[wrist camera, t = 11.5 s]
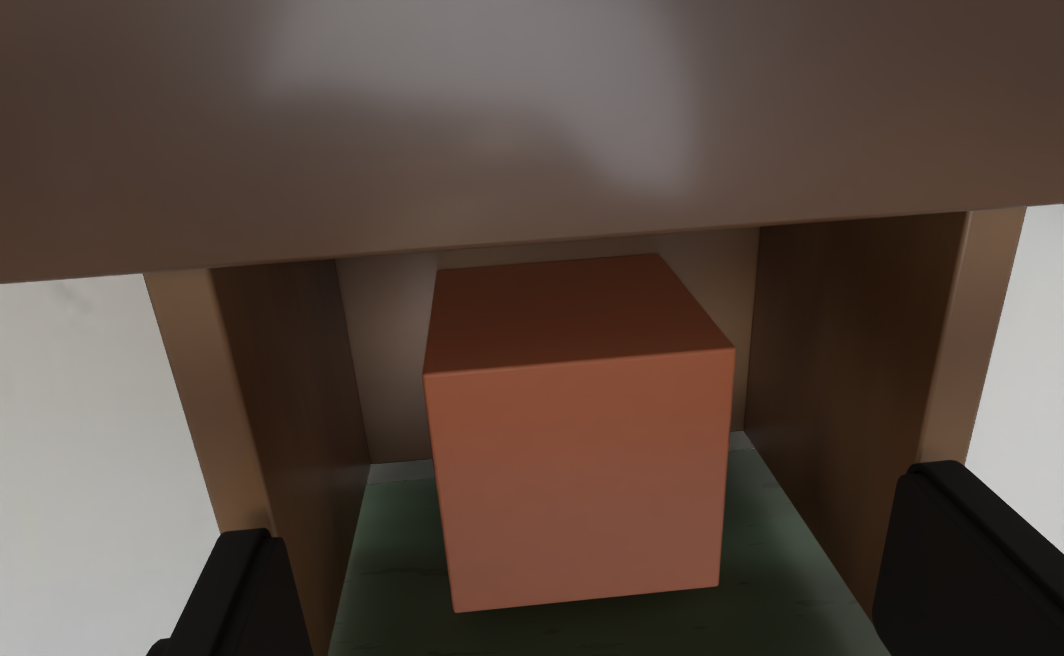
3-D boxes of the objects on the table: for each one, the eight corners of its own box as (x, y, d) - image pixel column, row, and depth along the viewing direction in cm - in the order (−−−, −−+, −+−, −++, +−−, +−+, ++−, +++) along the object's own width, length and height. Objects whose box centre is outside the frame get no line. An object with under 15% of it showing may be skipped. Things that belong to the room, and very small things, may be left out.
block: (457, 458, 17) (453, 615, 13) (436, 269, 15) (420, 374, 11) (655, 440, 18) (719, 587, 13) (659, 252, 16) (737, 348, 11)
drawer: (761, 595, 22) (905, 878, 14) (360, 637, 21) (302, 954, 14) (833, -58, 14) (1192, -140, 7) (219, -25, 14) (-56, -77, 6)
